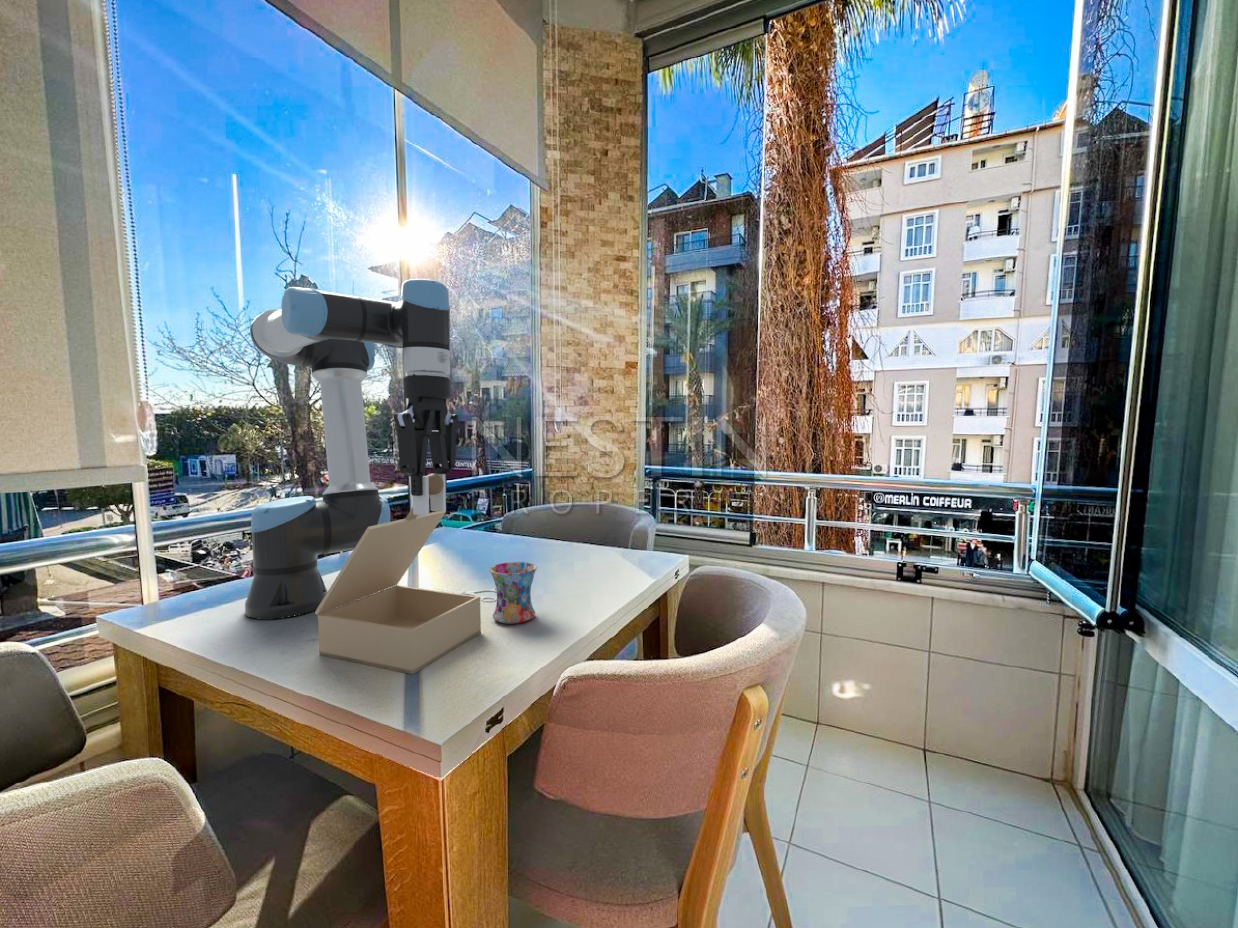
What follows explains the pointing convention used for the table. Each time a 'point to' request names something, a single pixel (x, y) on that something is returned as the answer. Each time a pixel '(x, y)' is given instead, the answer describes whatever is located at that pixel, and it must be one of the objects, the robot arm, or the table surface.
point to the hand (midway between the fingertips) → (429, 512)
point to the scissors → (475, 594)
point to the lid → (382, 555)
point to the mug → (513, 591)
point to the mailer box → (399, 628)
